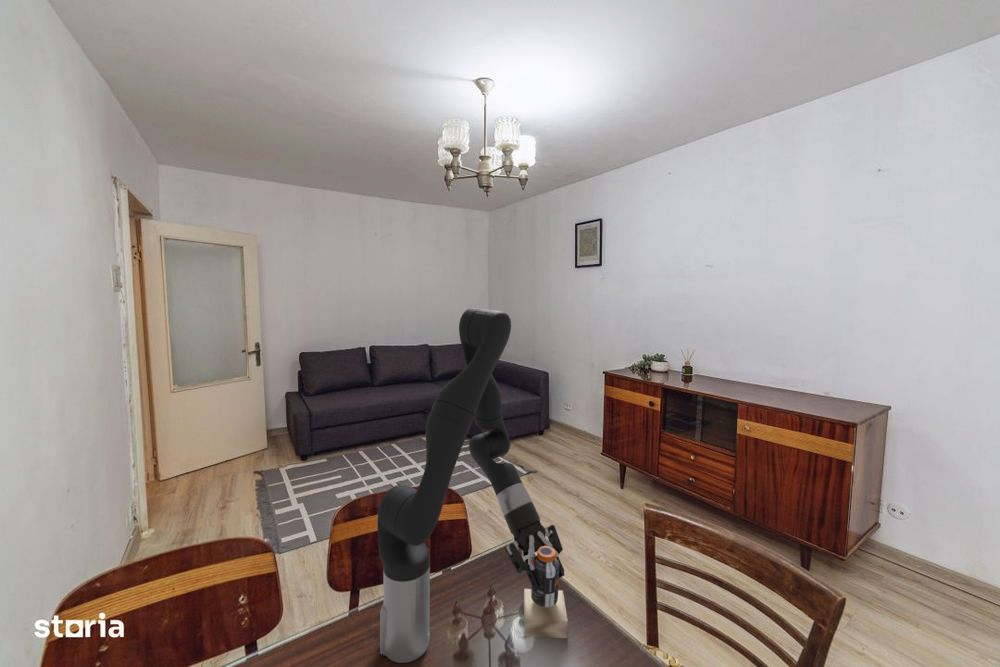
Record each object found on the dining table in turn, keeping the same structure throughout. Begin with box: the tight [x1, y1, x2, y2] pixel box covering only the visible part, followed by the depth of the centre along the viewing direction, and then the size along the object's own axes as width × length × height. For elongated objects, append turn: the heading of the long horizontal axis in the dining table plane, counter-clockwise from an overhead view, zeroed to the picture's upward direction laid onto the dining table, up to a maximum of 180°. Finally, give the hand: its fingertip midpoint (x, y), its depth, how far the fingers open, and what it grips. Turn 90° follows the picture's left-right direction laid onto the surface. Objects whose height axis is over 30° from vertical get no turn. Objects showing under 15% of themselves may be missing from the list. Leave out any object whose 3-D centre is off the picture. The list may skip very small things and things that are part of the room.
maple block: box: [523, 588, 569, 639], centre depth 93 cm, size 9×9×4 cm
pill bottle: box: [530, 546, 560, 607], centre depth 92 cm, size 6×6×11 cm
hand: (550, 582), depth 91 cm, fingers closed on pill bottle, 6 cm apart
